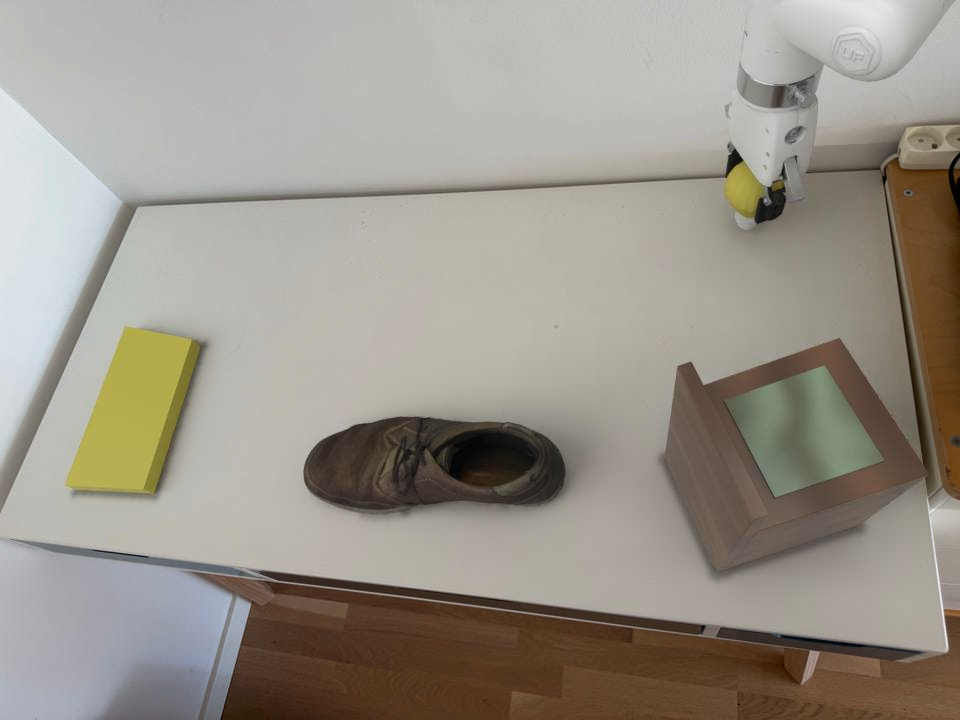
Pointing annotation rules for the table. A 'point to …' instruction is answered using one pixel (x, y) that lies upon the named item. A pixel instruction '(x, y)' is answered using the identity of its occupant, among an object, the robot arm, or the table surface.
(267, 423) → the table surface
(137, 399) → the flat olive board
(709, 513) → the wooden frame
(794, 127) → the robot arm
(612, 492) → the table surface
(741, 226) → the light bulb
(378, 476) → the shoe
